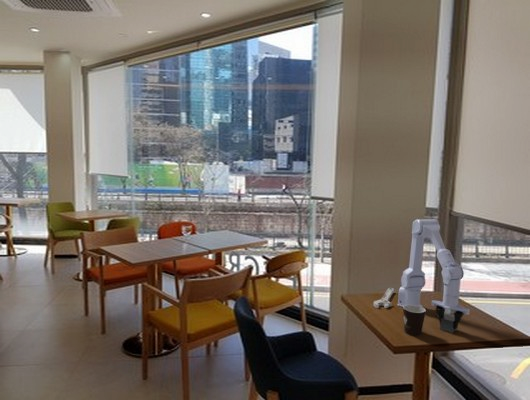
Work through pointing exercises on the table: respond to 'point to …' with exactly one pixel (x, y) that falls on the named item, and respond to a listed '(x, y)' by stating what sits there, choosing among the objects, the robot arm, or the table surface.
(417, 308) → the coffee mug
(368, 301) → the table surface
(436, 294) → the table surface
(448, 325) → the socket
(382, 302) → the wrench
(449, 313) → the ratchet
